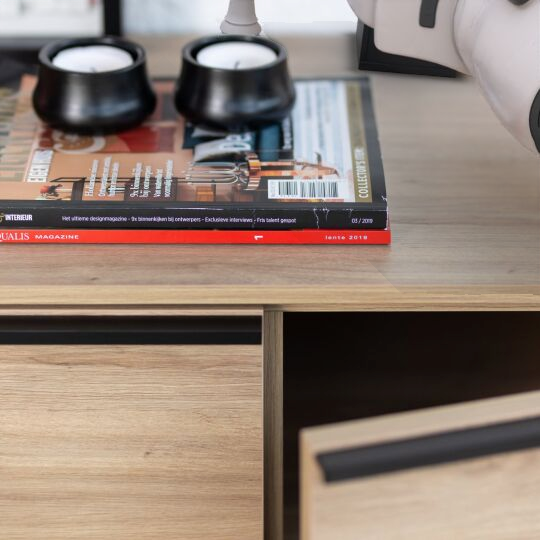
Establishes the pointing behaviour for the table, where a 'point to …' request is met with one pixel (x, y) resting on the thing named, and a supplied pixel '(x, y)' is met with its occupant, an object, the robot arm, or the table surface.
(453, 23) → the robot arm
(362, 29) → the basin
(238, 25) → the rook chess piece
